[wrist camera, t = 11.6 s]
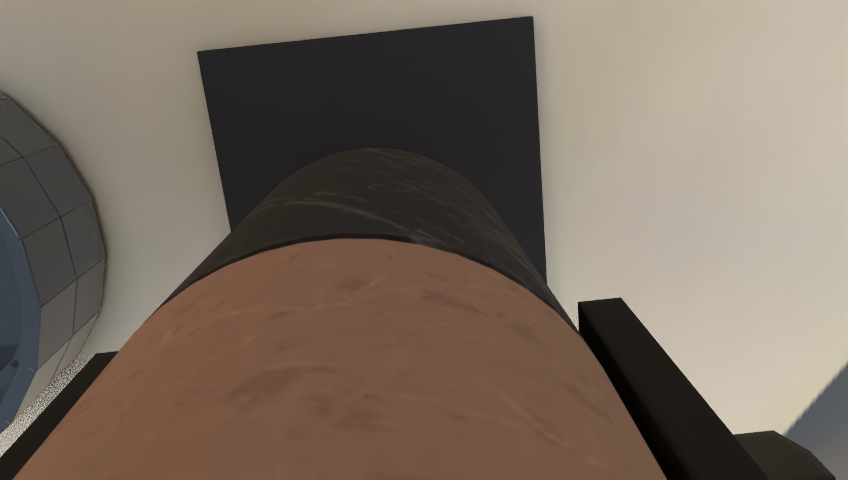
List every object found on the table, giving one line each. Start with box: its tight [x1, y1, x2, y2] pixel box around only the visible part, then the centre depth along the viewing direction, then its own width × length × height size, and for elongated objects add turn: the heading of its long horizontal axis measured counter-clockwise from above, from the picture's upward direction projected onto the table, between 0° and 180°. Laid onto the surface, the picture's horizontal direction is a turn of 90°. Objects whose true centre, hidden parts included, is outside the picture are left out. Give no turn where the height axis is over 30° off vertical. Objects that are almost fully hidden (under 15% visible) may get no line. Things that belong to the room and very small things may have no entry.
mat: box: [197, 16, 547, 284], centre depth 27 cm, size 12×12×1 cm
